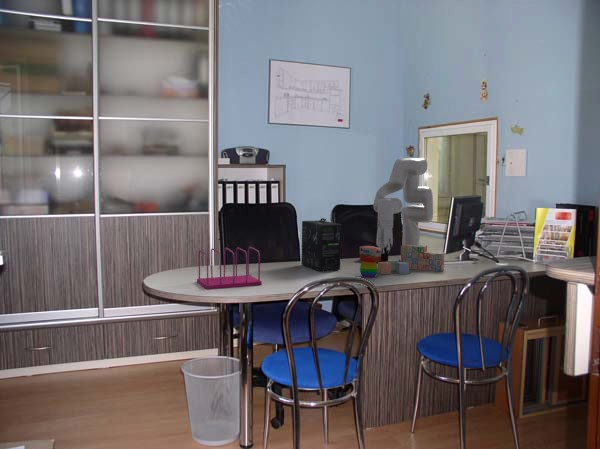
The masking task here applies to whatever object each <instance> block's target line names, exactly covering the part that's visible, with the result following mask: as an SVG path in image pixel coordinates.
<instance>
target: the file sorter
mask: <svg viewBox="0 0 600 449" xmlns="http://www.w3.org/2000/svg"><path fill="white" fill-rule="evenodd" d="M250 249H251V250H253V251H255V252H257V254H258V255H257V256H258V267H257V268H258V272H257V273H258V277H257V278H256V277H254V276H252V275H250V271H249V270H250ZM226 250H227V251H229V252H230V253H232V260H233V261H232V275H231V276H229V275H227V276H226ZM238 250H240V251H241V252H244V254H245V274H244V275H238ZM213 251H214V252H216V253H218V257H219V258H218V259H219V276H217V277H216V276H215V277H213V276H214V275H213ZM201 253H202V254H204V255H205V256H206V277H202V278H201V258H200V257H201ZM197 259H198V278H196V283H197V284H199V285H200V286H202V288H203V289H205V290H214V289H223V288H236V287H238V288H239V287H247V286H248V287H250V286H253V285H254V286H262V284H263V283H262V280H261V254H260V250H258V249H256V248H255V247H252V246H248V248H247V250H244V249H243V248H240V247H236V249H235V252H233V250H231V249H230V248H228V247H224V250H223V276H222V257H221V252H220V251H219V250H217V249H215V248H211V249H210V274H211V275H210V276H211V277H209V255H208V253H207V252H205V251H204V250H201V249H200V250H198V258H197Z"/></svg>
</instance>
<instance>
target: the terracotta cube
mask: <svg viewBox="0 0 600 449" xmlns="http://www.w3.org/2000/svg"><path fill="white" fill-rule="evenodd" d="M377 269H378V273H380V274H390V275H392V274H391V263H388V262H378V263H377Z"/></svg>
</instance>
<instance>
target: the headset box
mask: <svg viewBox="0 0 600 449" xmlns="http://www.w3.org/2000/svg"><path fill="white" fill-rule="evenodd" d="M326 220H327V218H323V217H321V218H320V219H319V220H302V221H301V263H300V264H301V265H302V266H305V267H308V268H310V269H313V270H316V271H318V272H320V273H321V272H332V271H333V272H335V271H339V270H341V241H342V240H341V238H342V237H341V236H342V224H341V223H337V222H336V223H335V222H332V221H326Z"/></svg>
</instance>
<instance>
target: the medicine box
mask: <svg viewBox="0 0 600 449" xmlns="http://www.w3.org/2000/svg"><path fill="white" fill-rule="evenodd" d="M366 257H372V258H373V259H374V260H375V262H376V264H378V262H382V261H381V249H380V247H378V246H377V247H376V246H373V245H363V246H359V260H360V261H361V262H362V261H363V260H364V259H365V258H366Z"/></svg>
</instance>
